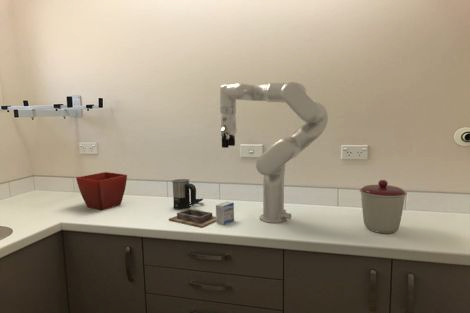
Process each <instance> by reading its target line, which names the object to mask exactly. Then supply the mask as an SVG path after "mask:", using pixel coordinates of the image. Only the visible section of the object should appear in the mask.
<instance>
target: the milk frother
mask: <svg viewBox="0 0 470 313" xmlns="http://www.w3.org/2000/svg"><path fill="white" fill-rule="evenodd" d="M171 182H172V195H173V198H172V199H173V207H172V208H173V209H174V210H187V209H191V206H195V205H197V204H198V203H200V202H202V201H203V200H204V198H197V188H196V185H195V184H193V183H190V179H188V178H179V179H173V180H171Z"/></svg>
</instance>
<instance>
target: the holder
mask: <svg viewBox="0 0 470 313" xmlns="http://www.w3.org/2000/svg"><path fill="white" fill-rule="evenodd" d="M168 221H169V222H174V223H178V224H184V225H187V226H188V225H189V226H192V227H197V228H201V229H202V228H204V227H207V226H209V225H211V224H213V223H216V215H215V216H214V215H213V212H210V211H204V210H199V209H193V208H188V209H184V210H181V211H179V212H176V215H175V216H173V217H170V218H168Z"/></svg>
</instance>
